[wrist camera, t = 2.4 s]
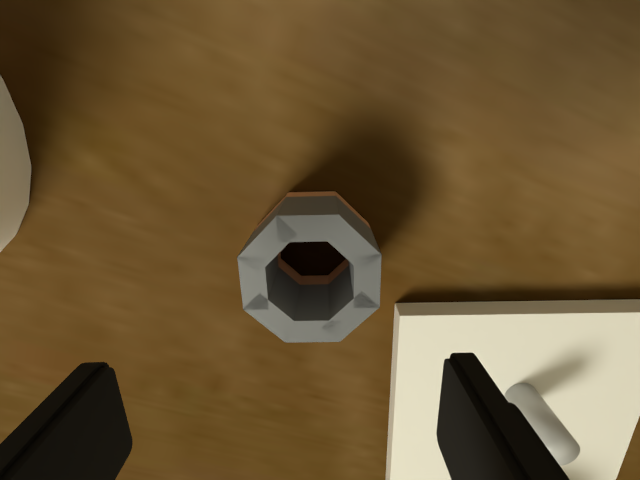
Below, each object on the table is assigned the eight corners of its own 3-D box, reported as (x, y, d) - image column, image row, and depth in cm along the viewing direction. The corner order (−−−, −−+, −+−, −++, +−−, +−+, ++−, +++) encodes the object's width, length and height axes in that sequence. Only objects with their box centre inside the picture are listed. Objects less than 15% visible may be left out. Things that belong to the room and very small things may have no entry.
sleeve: (368, 190, 19) (383, 213, 14) (366, 292, 21) (378, 341, 17) (255, 192, 19) (232, 216, 15) (264, 293, 21) (246, 343, 17)
